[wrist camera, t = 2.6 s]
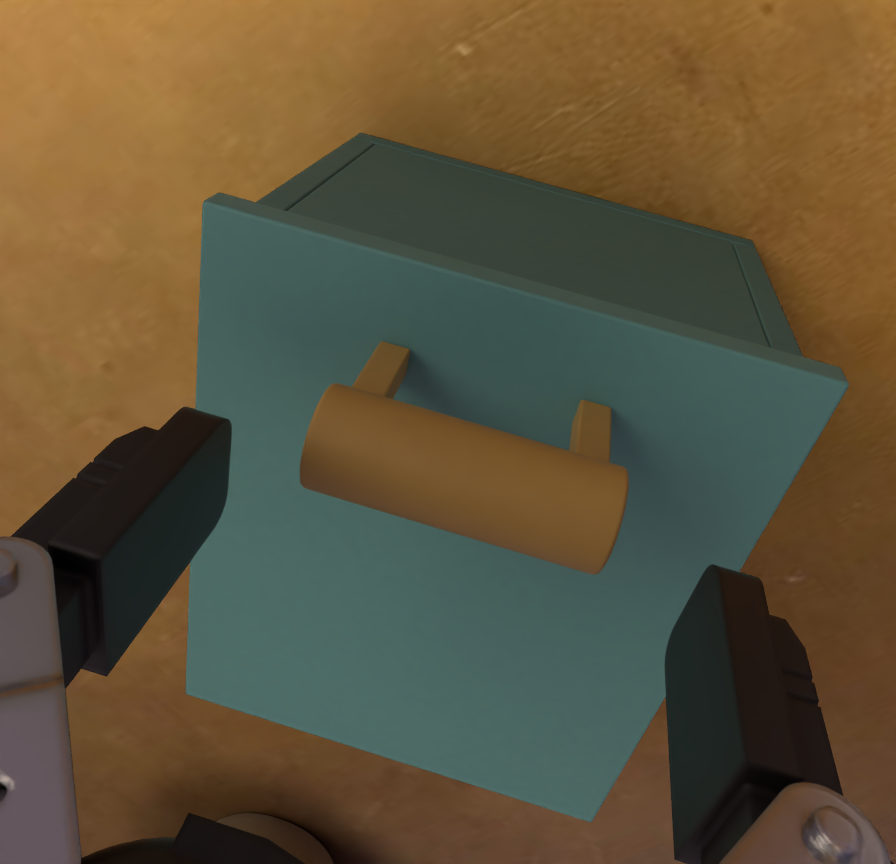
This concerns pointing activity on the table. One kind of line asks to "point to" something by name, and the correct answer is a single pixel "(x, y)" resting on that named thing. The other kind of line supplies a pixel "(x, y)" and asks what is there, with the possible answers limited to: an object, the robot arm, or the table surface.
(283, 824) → the beige bowl
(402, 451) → the lid
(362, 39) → the table surface
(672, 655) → the robot arm
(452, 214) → the chest
